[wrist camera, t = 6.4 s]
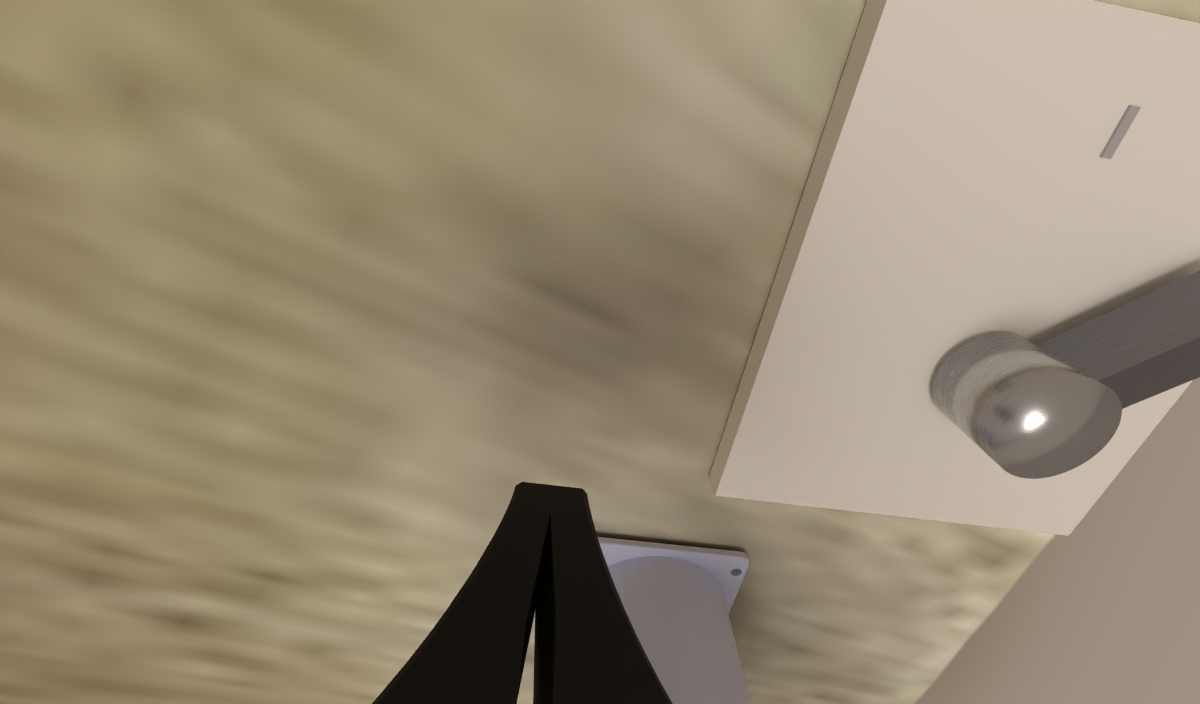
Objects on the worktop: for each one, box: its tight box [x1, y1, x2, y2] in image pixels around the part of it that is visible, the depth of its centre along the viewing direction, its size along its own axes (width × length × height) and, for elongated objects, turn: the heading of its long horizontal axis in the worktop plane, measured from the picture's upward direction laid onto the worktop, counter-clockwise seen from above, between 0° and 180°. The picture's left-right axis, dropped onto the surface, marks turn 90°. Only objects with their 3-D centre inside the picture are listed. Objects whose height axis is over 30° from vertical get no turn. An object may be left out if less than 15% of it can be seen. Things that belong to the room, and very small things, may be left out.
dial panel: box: [709, 0, 1200, 536], centre depth 18 cm, size 18×16×1 cm
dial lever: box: [932, 270, 1200, 479], centre depth 16 cm, size 9×4×3 cm, turn 122°
